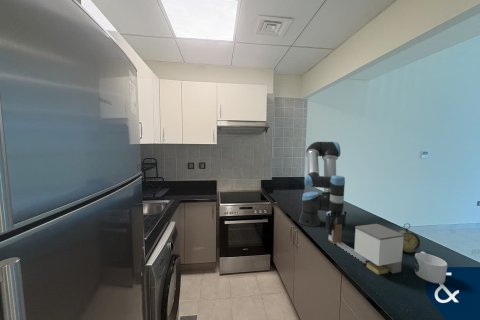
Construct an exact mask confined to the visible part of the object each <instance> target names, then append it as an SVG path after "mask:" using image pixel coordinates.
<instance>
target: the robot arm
mask: <svg viewBox="0 0 480 320" xmlns="http://www.w3.org/2000/svg"><path fill="white" fill-rule="evenodd" d="M305 156H306V159H307V162H306V163H307V164H306V165H307V175H305V176H304V186H305V187H308V188H321V189H323V190H322V192H321V194H320V193H319V192H317V191H306V192H304V193H303V194H302V198H301V213H300V215H299V219H298V223H299V224H300V225H303V226H304V227H305V226H306V227H310V228H311V227H312V228H314V227H319V226H321V219H320V215H319V212H320V211H321V212H325V229H326V230H328V232H327V233H328V236H329V240H331V241H333V230H332V229H333V225H334V221H337V222H339V223H341V224H342V231H343V230H344V229H345V228H346V219H347V211H345V210H344V208H345V207H344V202H345V201H344V200H345V187H346V186H345V184H346V178H345V176H343V175H337V160H338V159H339V158H340V156H341V146H340V143H339V142H337V141H315V142H313V143H311V144H310V145H309V146H308V147H307V148H306V151H305ZM319 157H321V159H322V160H323V175H320V170H319V169H320V168H319V165H320V164H319Z"/></svg>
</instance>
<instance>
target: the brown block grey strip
mask: <svg viewBox="0 0 480 320" xmlns="http://www.w3.org/2000/svg"><path fill="white" fill-rule="evenodd" d="M332 230H333V241H331V240H329V235H328V237H327V239H328V242H329V241H330V243H331V244H332V243H333V244H332V245H334V244H336V246H337V247H339V248H340V249H342V250H343V249H344V250H343V251H345V252H346V251H347V252H346V253H348V254H349V253H350V254H349V255H350V256H352V255H353V258H355V257H356V259H357V260H358V259H359V260H358V261H360V262H361V261H362V263H363V264H365V265H367V263H369V262H371V261H370V260H368V259H366V258H365V257H363V256H362V255H360V254H358V253H357V252H355V251H354V248H353V247H350V246H348V244H346V243H344V242H342V233H343V230H342V224H341V223H339V222H337V220H335V221H334V225H333V229H332Z"/></svg>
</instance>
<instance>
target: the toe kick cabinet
mask: <svg viewBox="0 0 480 320" xmlns="http://www.w3.org/2000/svg"><path fill="white" fill-rule="evenodd" d="M354 228H355V233H354V248H353V249H354V251H355V252H357V253H358V254H360V255H362V256H363V257H365V258H366V259H368V260H370V262H373V263H374V264H376V265H378V266H381V265H384V266H385V267H387V268H388V272H390V273H392V274H397V273H401V272H402V263H403V252H404V251H403V238H404V234H401V233H399V231H396V230H394V229H391V228H389V227H386V226H384V225H381V224H379V223H371V224H364V225H355V227H354Z"/></svg>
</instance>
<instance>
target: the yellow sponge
mask: <svg viewBox="0 0 480 320" xmlns="http://www.w3.org/2000/svg"><path fill="white" fill-rule="evenodd" d="M366 268H368V269H369V270H370V271H371V272H374V273H375V274H376V275H378V276H380V275H383V274H388V273H389V271H388V268H387V267H385V266H384V265H381V266H378V265H376V264H374V263H373V262H371V261H370V262H369V263H367V264H366Z"/></svg>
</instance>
